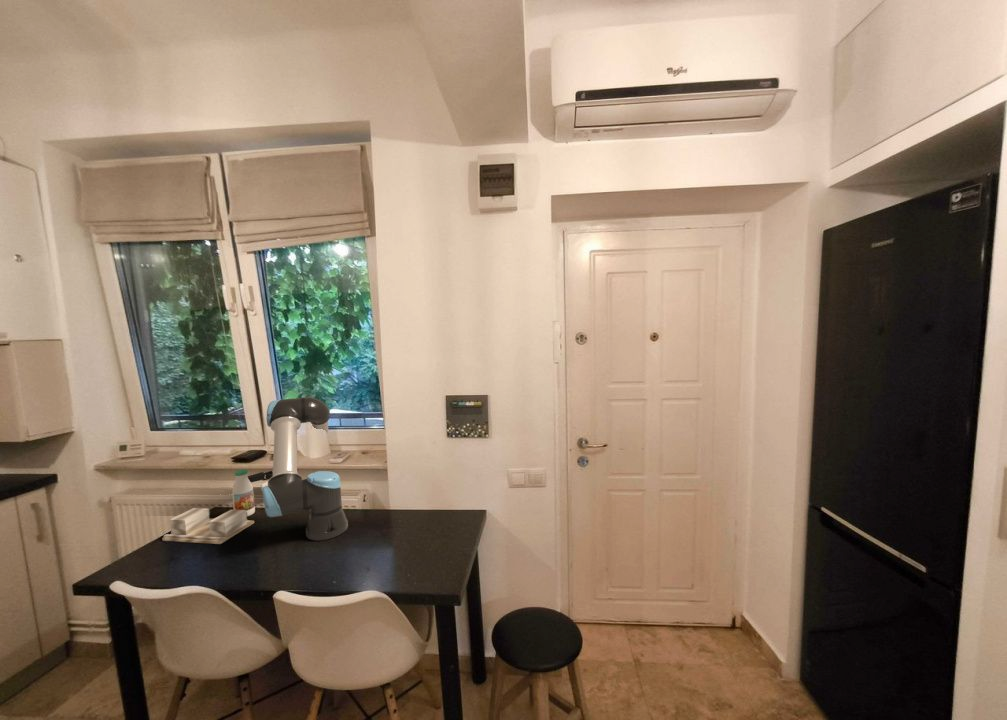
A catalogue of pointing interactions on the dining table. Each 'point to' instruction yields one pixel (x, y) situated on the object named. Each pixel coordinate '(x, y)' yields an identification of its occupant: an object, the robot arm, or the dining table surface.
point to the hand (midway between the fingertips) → (248, 487)
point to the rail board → (207, 526)
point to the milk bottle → (243, 493)
